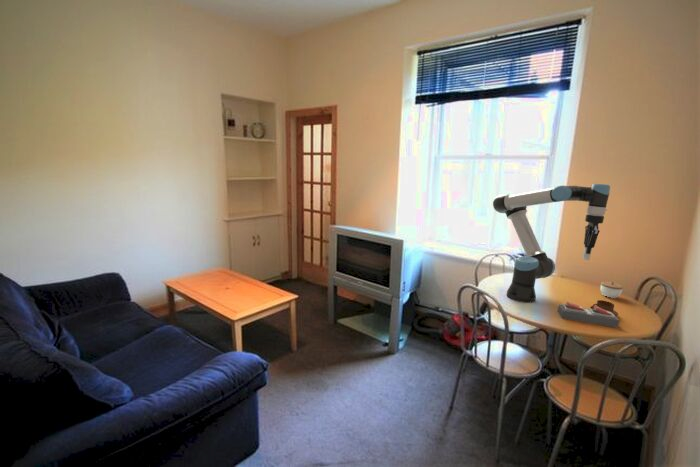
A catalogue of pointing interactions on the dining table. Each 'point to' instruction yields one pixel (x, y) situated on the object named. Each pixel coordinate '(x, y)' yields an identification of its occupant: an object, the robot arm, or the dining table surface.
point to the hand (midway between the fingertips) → (585, 259)
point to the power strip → (588, 316)
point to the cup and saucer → (605, 306)
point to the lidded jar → (611, 289)
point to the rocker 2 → (602, 310)
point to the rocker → (574, 306)
